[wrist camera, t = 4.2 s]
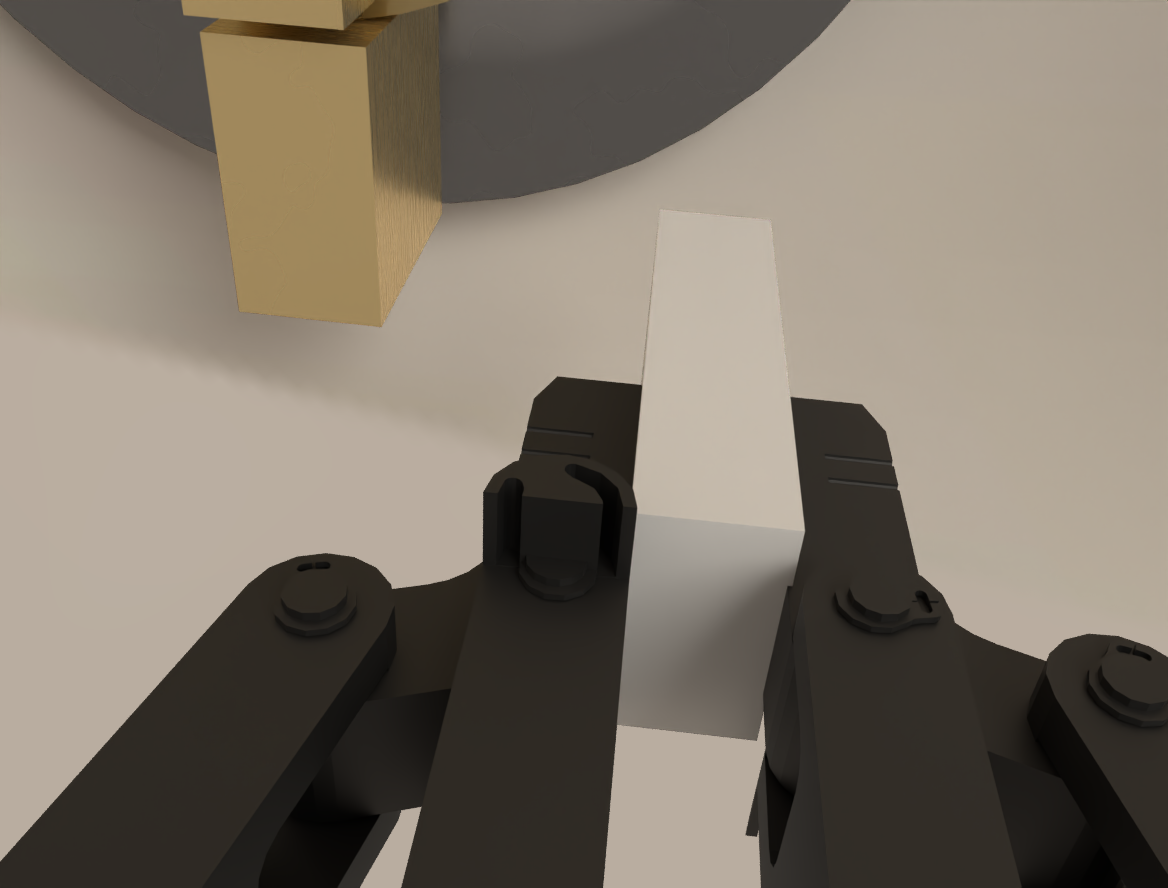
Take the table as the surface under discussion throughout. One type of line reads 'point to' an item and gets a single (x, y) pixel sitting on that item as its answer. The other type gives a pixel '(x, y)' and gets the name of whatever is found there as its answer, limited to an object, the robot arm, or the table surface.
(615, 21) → the cap plate
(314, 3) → the brass disc with pegs
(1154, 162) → the table surface
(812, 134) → the table surface
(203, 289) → the table surface
